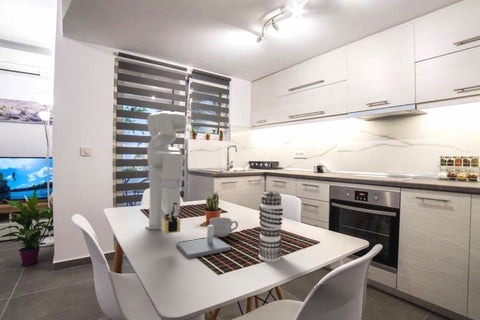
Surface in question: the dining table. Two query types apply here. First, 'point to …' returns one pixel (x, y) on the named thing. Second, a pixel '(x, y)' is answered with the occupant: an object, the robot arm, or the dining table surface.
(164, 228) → the brass collar
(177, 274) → the dining table surface
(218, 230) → the teacup
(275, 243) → the leaning tower model
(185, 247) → the board
